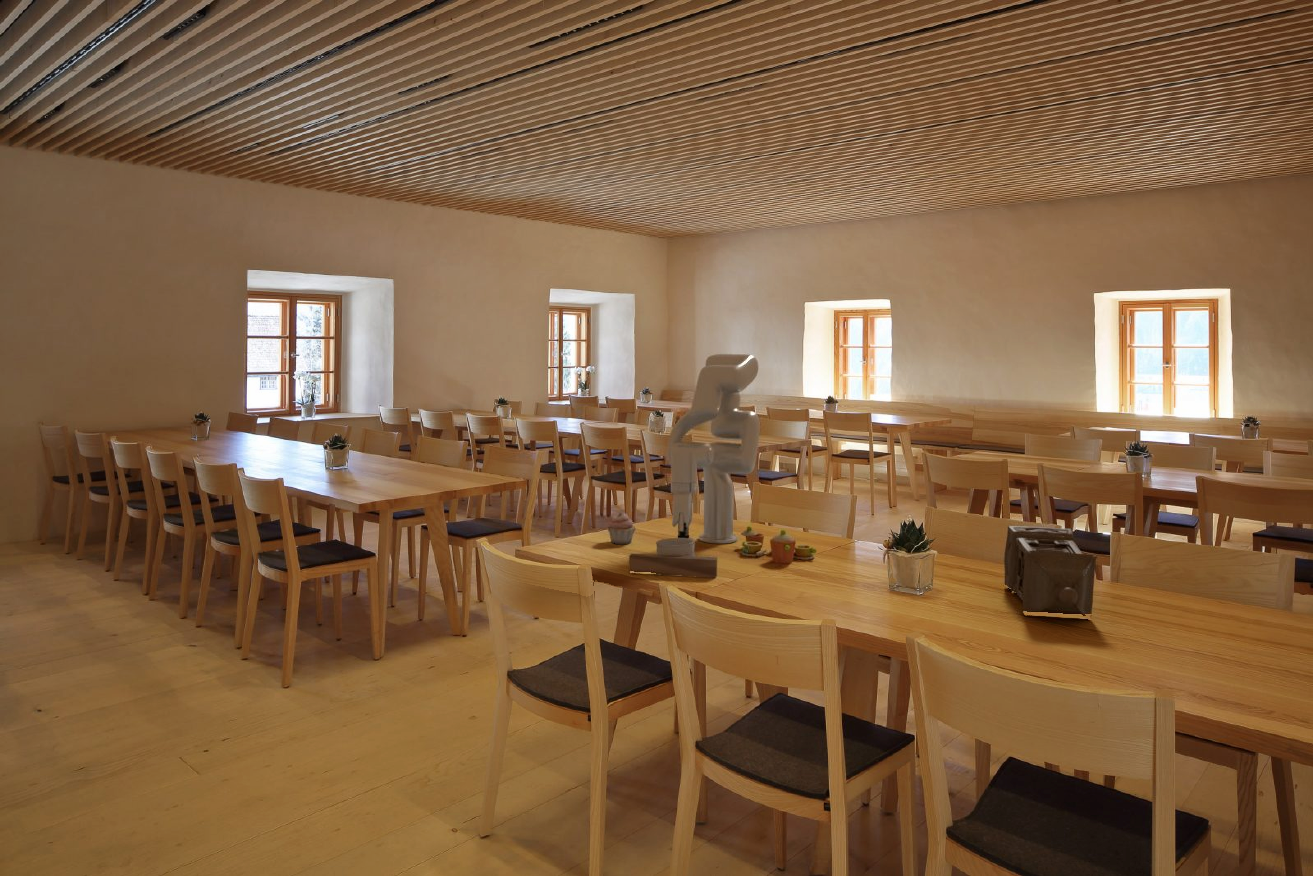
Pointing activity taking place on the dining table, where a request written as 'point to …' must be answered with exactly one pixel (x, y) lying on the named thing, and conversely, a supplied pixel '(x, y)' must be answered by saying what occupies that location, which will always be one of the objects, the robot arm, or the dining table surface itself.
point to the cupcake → (621, 529)
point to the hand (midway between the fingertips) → (683, 548)
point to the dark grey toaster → (1049, 570)
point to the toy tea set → (776, 547)
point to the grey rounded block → (676, 546)
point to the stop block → (674, 565)
